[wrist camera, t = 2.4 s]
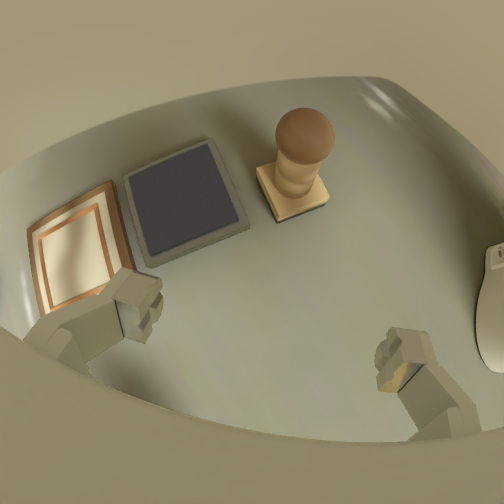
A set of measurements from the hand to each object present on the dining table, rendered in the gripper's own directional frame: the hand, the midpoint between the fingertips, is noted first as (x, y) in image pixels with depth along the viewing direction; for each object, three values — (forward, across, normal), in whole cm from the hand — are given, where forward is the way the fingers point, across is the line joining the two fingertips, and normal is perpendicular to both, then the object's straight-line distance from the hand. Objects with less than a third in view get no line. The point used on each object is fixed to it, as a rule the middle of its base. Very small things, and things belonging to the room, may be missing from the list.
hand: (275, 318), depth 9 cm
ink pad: (+17, +10, +5) cm, 21 cm away
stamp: (+20, 0, +3) cm, 20 cm away
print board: (+12, +20, +11) cm, 26 cm away
